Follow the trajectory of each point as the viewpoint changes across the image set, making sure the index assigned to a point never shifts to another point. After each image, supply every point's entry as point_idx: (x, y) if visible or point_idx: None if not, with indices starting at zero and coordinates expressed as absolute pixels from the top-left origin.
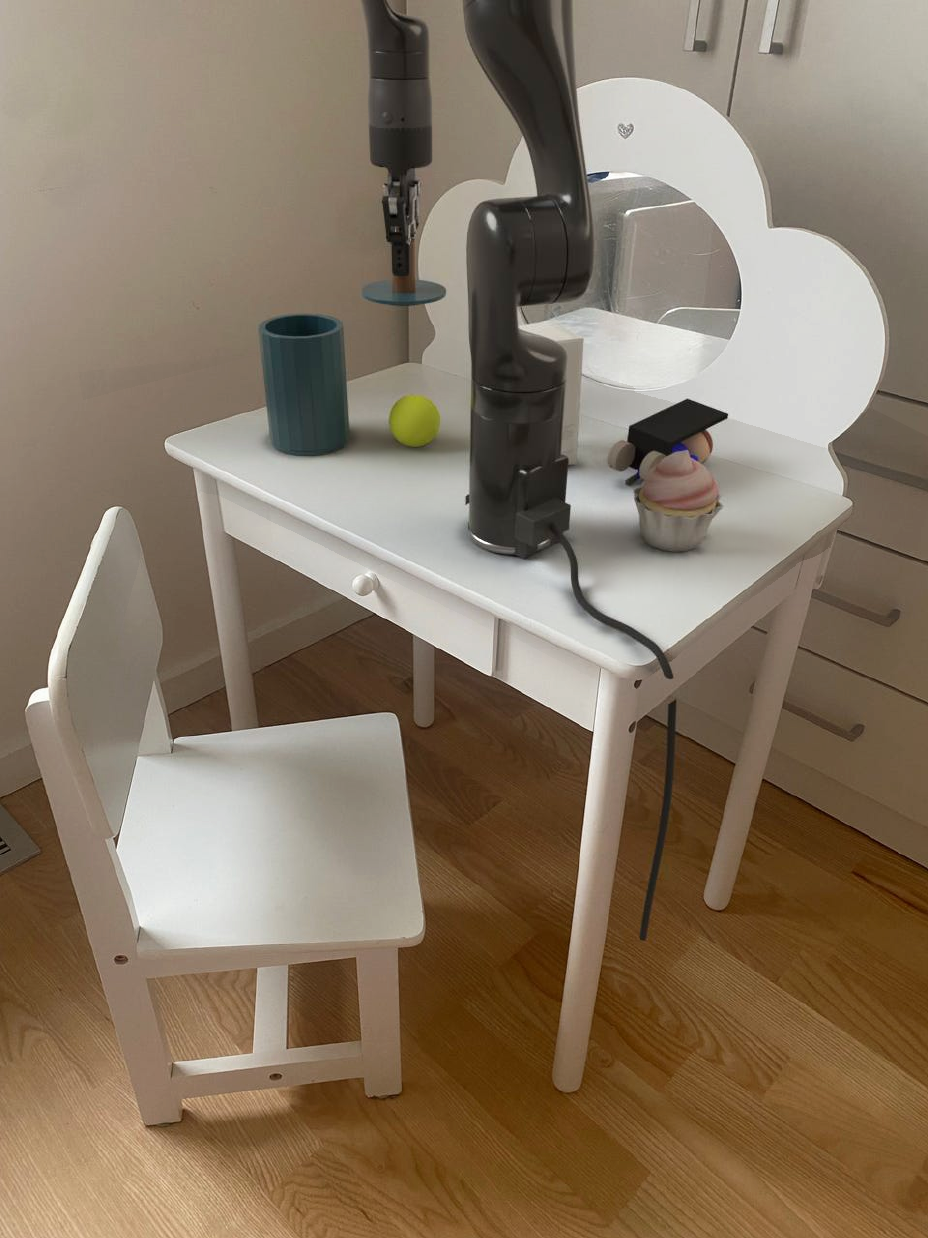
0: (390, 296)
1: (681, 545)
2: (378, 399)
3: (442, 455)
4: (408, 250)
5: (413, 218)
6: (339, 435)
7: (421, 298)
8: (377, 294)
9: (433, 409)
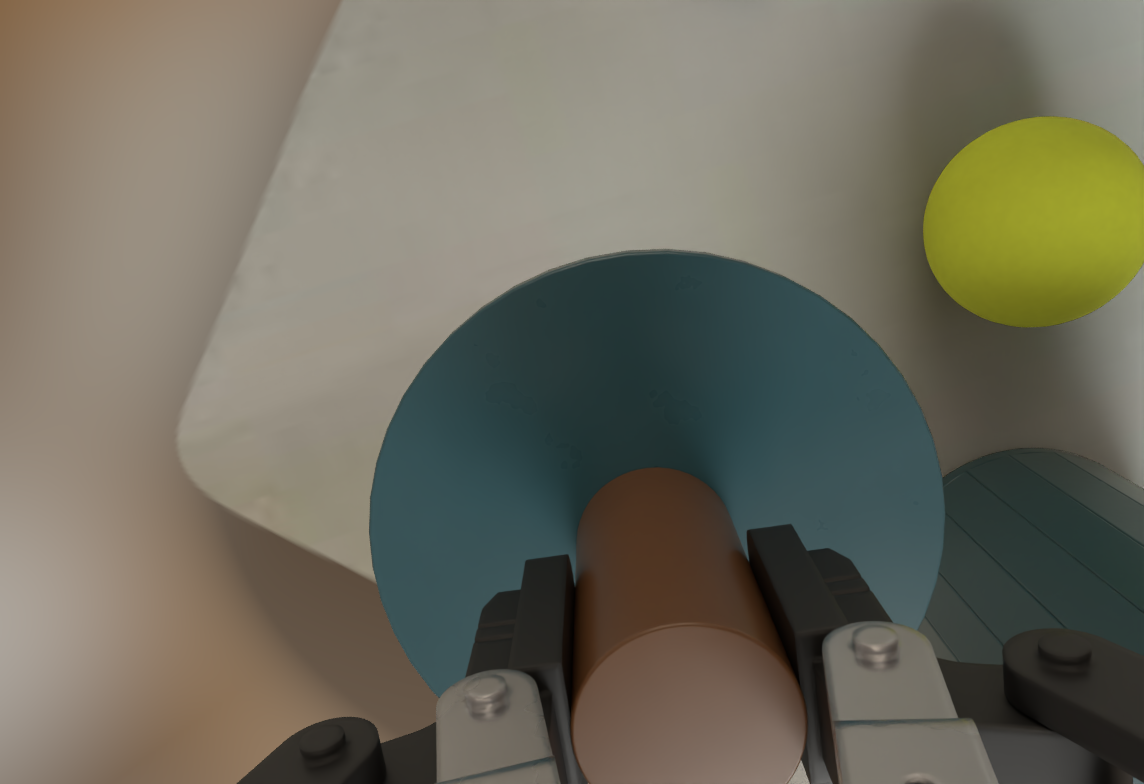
0: None
1: None
2: None
3: (1067, 88)
4: (838, 607)
5: (918, 745)
6: (1108, 470)
7: (837, 366)
8: None
9: (1086, 135)
